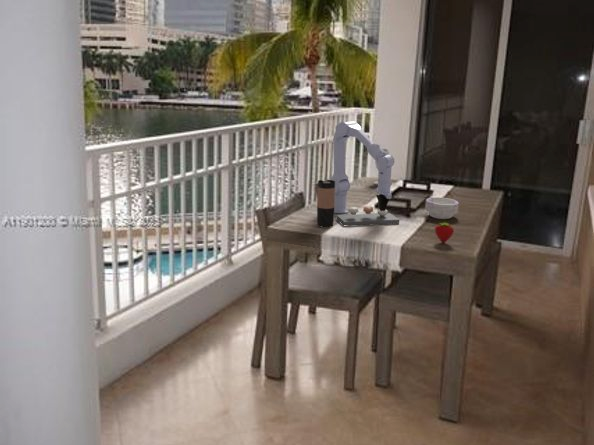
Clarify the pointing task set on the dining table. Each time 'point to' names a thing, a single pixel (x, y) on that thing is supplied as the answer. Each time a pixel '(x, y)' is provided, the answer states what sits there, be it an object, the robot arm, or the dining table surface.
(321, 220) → the travel mug
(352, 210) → the inner button
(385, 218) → the grey flat board
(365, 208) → the middle button
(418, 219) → the dining table surface
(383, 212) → the outer button
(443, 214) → the paper bowls
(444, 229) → the strawberry
